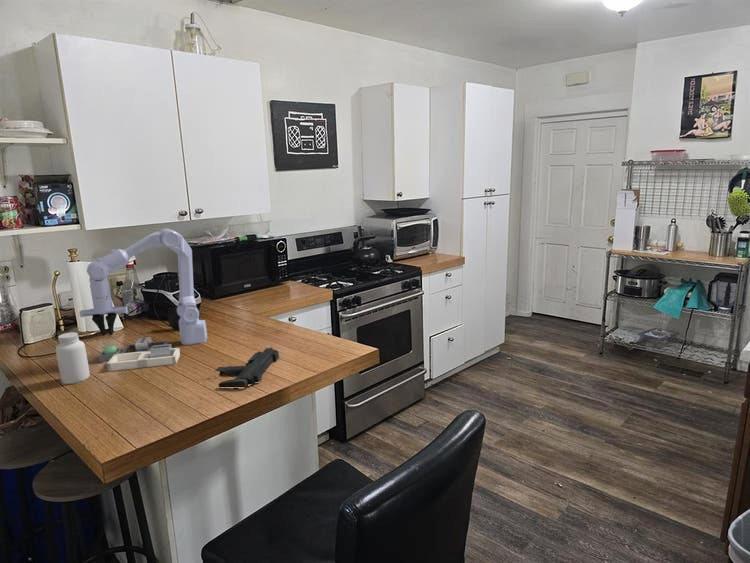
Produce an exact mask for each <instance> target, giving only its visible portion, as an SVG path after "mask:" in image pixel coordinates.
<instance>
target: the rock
mask: <svg viewBox="0 0 750 563" xmlns="http://www.w3.org/2000/svg"><path fill="white" fill-rule="evenodd" d="M197 309H198V311H199V308H198V307H197ZM199 312H200V311H199ZM166 317H167V320H168V325H169V326H170V328H171V329H176V330H180V329H179V320H180V316H179V315H178V314H177V307H169V308H167V316H166ZM198 318H199V320H202V318H201V317H200V316H199V317H198Z"/></svg>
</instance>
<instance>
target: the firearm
mask: <svg viewBox="0 0 750 563" xmlns="http://www.w3.org/2000/svg"><path fill="white" fill-rule="evenodd" d="M278 358H280V353H279V350H277V349H274V348H273V347H269V348H265V349H264V350H263V351H258V352H257V351H256V352H255V353H254V354H253V355H252V356H251V357H250V358H249V359H248V360H247V361H248V362H246V363H245V365H238V366H237V365H234V366H233V365H228V366H218V367H217V368H216V369H215V370H214V371H215V372H219V375H221V374H224V375H236V377H235V378H233V379H228V380H223V381H221V382H219V383H218V387H246V388H248V387H249V386H248V384H252V385H253V383H254V384H255V382H259V381H260V380H261V378H262V379H263V376H262V375H263V374H264V372H265V371H266V370H267V369H268V368H269V367H270V365H272V363H273V362H277V361H278V360H279V359H278ZM277 359H278V360H277ZM276 360H277V361H276ZM224 375H223V376H224ZM261 381H262V380H261ZM261 381H260V382H261ZM260 382H259V383H260Z"/></svg>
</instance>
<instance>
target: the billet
mask: <svg viewBox="0 0 750 563" xmlns="http://www.w3.org/2000/svg"><path fill="white" fill-rule="evenodd" d="M152 342H153V341H152V337H151V336H147V337H146V336H145V337H138V339H137V340H136V341H135V343H134V344H135V347H136V349H135V352H142V351H150V349H151V347H152Z"/></svg>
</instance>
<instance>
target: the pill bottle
mask: <svg viewBox="0 0 750 563" xmlns="http://www.w3.org/2000/svg"><path fill="white" fill-rule="evenodd" d="M57 339H58V343H59V344H57V345H56V346H55V354H56V356H55V357H56V361H57V366H58V371H59V372H58V373H59V376H60V381H61V383H62V384H64V385H73V384H78V383H82V382H83V381H84V380H87V379H88V378H90V374H91V372H90V367H89V362H88V354H87V349H86V344H85V342H84V341H82V340H80V338H79V334H78V333H77V332H74V331H73V332H65V333H62V334H59V335H58V336H57Z"/></svg>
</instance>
